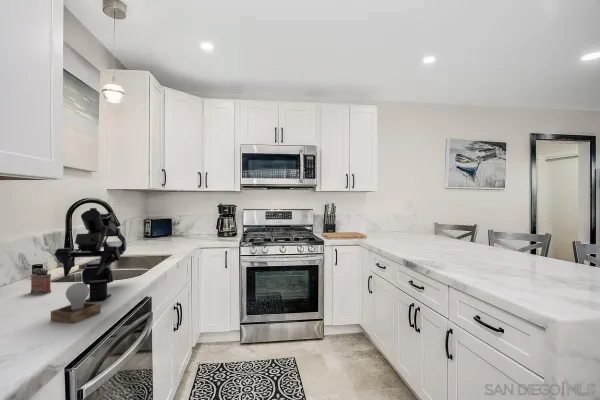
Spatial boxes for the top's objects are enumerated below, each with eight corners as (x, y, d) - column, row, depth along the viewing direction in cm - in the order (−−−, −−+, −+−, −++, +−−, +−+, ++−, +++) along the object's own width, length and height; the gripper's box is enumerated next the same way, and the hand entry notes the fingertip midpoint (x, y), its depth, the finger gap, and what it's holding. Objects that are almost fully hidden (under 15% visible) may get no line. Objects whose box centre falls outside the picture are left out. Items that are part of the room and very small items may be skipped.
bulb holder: (79, 310, 99) (79, 301, 99) (100, 312, 97) (100, 303, 97) (50, 320, 90) (50, 311, 91) (73, 323, 88) (73, 314, 88)
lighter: (53, 291, 121) (53, 267, 121) (45, 294, 117) (45, 269, 117) (36, 290, 121) (36, 267, 121) (27, 293, 118) (28, 269, 118)
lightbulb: (63, 317, 94) (63, 283, 94) (85, 311, 98) (85, 279, 98) (68, 321, 90) (68, 286, 90) (91, 315, 95) (91, 282, 95)
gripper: (57, 225, 100) (37, 263, 89) (117, 224, 105) (106, 260, 94) (68, 244, 107) (51, 282, 97) (124, 242, 112) (114, 277, 102)
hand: (81, 275), depth 97 cm, fingers open, 9 cm apart
